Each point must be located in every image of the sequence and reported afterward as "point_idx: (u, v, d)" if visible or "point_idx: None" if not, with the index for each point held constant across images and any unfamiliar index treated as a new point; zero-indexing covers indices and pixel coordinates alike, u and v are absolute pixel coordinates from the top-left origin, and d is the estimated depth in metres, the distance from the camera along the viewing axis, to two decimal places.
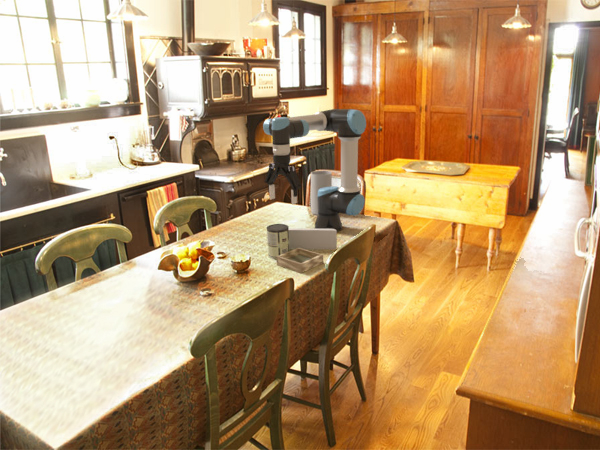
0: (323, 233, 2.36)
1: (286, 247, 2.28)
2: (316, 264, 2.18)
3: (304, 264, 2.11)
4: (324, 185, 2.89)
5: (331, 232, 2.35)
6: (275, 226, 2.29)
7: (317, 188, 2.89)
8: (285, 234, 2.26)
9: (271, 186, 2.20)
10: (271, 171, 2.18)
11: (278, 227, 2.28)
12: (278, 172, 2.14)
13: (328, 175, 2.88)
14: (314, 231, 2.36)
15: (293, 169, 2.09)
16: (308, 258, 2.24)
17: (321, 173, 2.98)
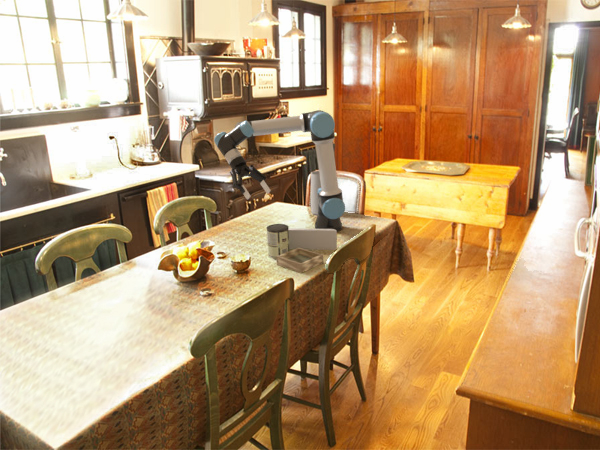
0: (323, 233, 2.35)
1: (286, 247, 2.28)
2: (316, 264, 2.18)
3: (304, 264, 2.11)
4: None
5: (331, 232, 2.35)
6: (275, 226, 2.29)
7: (317, 188, 2.89)
8: (285, 234, 2.26)
9: (261, 183, 2.37)
10: (254, 172, 2.39)
11: (278, 227, 2.28)
12: None
13: None
14: (314, 231, 2.36)
15: (231, 172, 2.29)
16: (308, 258, 2.24)
17: None
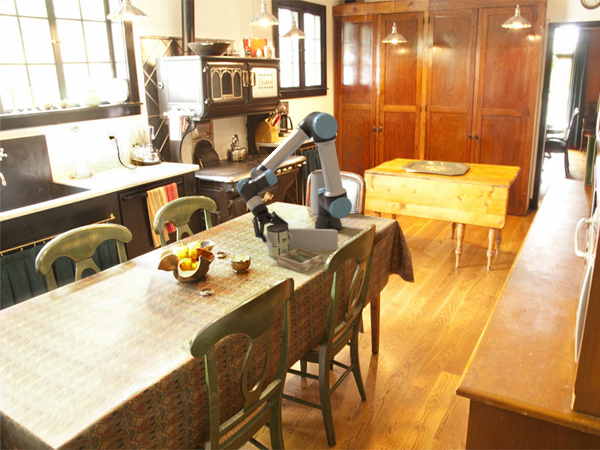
0: (324, 234, 2.35)
1: (286, 247, 2.28)
2: (316, 264, 2.18)
3: (304, 264, 2.11)
4: (324, 185, 2.89)
5: (332, 233, 2.34)
6: (275, 226, 2.29)
7: (317, 188, 2.89)
8: (285, 234, 2.26)
9: None
10: (276, 218, 2.37)
11: (278, 227, 2.28)
12: None
13: None
14: (315, 231, 2.35)
15: (253, 221, 2.28)
16: (308, 258, 2.24)
17: (321, 173, 2.98)
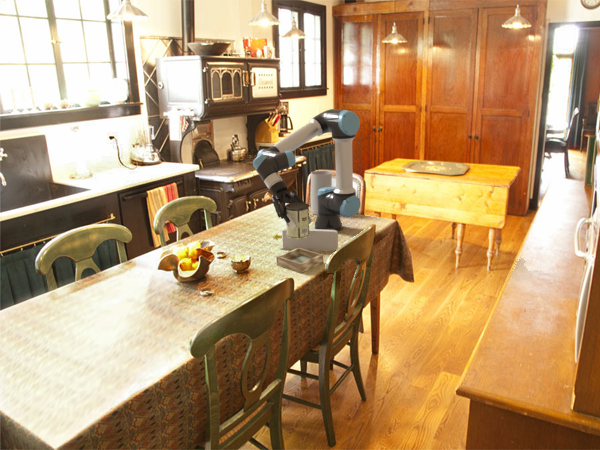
0: (324, 234, 2.34)
1: (306, 227, 2.13)
2: (316, 264, 2.18)
3: (304, 264, 2.11)
4: (324, 185, 2.89)
5: (332, 233, 2.33)
6: (294, 205, 2.14)
7: (317, 188, 2.89)
8: (305, 213, 2.10)
9: None
10: (295, 198, 2.21)
11: (297, 205, 2.13)
12: None
13: (328, 175, 2.88)
14: (315, 232, 2.35)
15: (273, 200, 2.13)
16: (308, 258, 2.24)
17: (321, 173, 2.98)
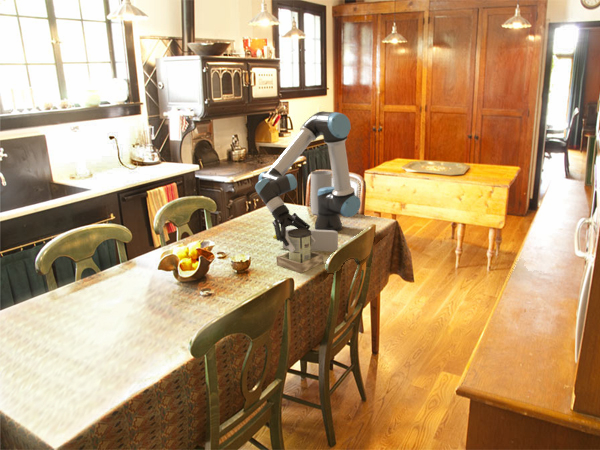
0: (323, 235, 2.34)
1: (308, 253, 2.16)
2: (316, 264, 2.18)
3: (304, 264, 2.11)
4: (324, 185, 2.89)
5: (332, 234, 2.33)
6: (297, 231, 2.17)
7: (317, 188, 2.89)
8: (308, 239, 2.14)
9: None
10: (297, 220, 2.24)
11: (300, 232, 2.16)
12: None
13: (328, 175, 2.88)
14: (315, 232, 2.34)
15: (274, 223, 2.16)
16: None
17: (321, 173, 2.98)
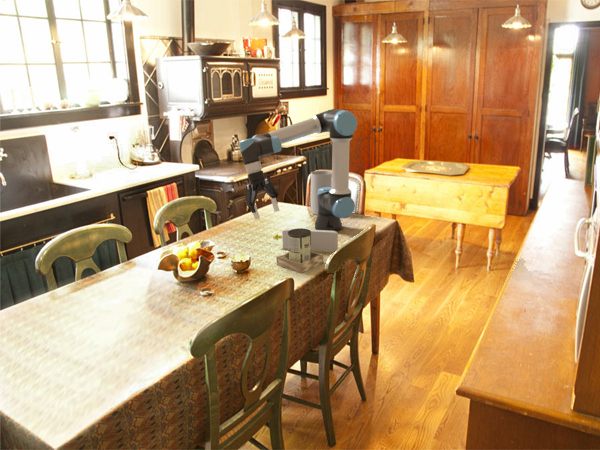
0: (323, 235, 2.33)
1: (308, 253, 2.16)
2: (316, 264, 2.18)
3: (304, 264, 2.11)
4: (324, 185, 2.89)
5: (331, 234, 2.32)
6: (297, 231, 2.17)
7: (317, 188, 2.89)
8: (308, 239, 2.14)
9: (272, 199, 2.35)
10: (268, 186, 2.34)
11: (300, 232, 2.16)
12: None
13: (328, 175, 2.88)
14: (314, 232, 2.34)
15: (247, 187, 2.24)
16: None
17: (321, 173, 2.98)
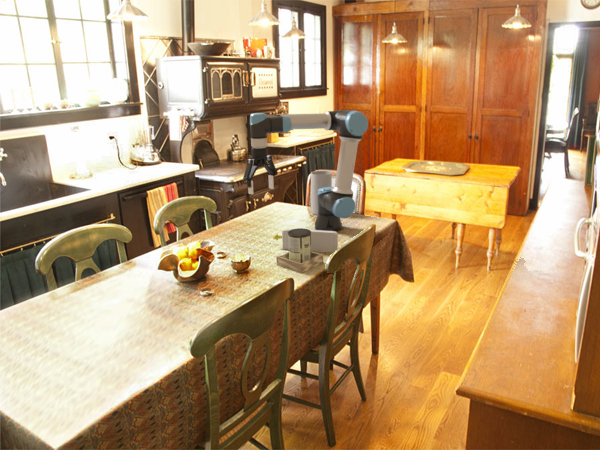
0: (323, 235, 2.33)
1: (308, 253, 2.16)
2: (316, 264, 2.18)
3: (304, 264, 2.11)
4: (324, 185, 2.89)
5: (331, 234, 2.32)
6: (297, 231, 2.17)
7: (317, 188, 2.89)
8: (308, 239, 2.14)
9: (269, 176, 2.37)
10: (269, 162, 2.35)
11: (300, 232, 2.16)
12: None
13: (328, 175, 2.88)
14: (314, 233, 2.33)
15: (249, 162, 2.25)
16: None
17: (321, 173, 2.98)
